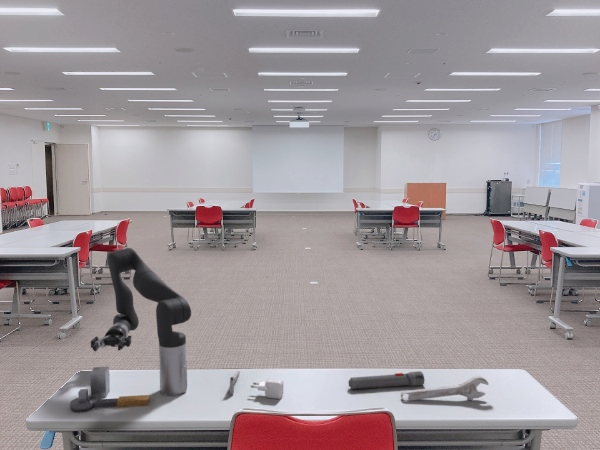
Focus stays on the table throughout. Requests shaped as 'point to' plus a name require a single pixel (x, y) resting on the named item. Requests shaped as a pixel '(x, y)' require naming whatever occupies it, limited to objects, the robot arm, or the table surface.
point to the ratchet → (105, 401)
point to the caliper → (233, 382)
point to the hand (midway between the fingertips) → (106, 348)
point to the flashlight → (387, 380)
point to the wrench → (449, 390)
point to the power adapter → (271, 388)
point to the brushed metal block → (99, 382)
